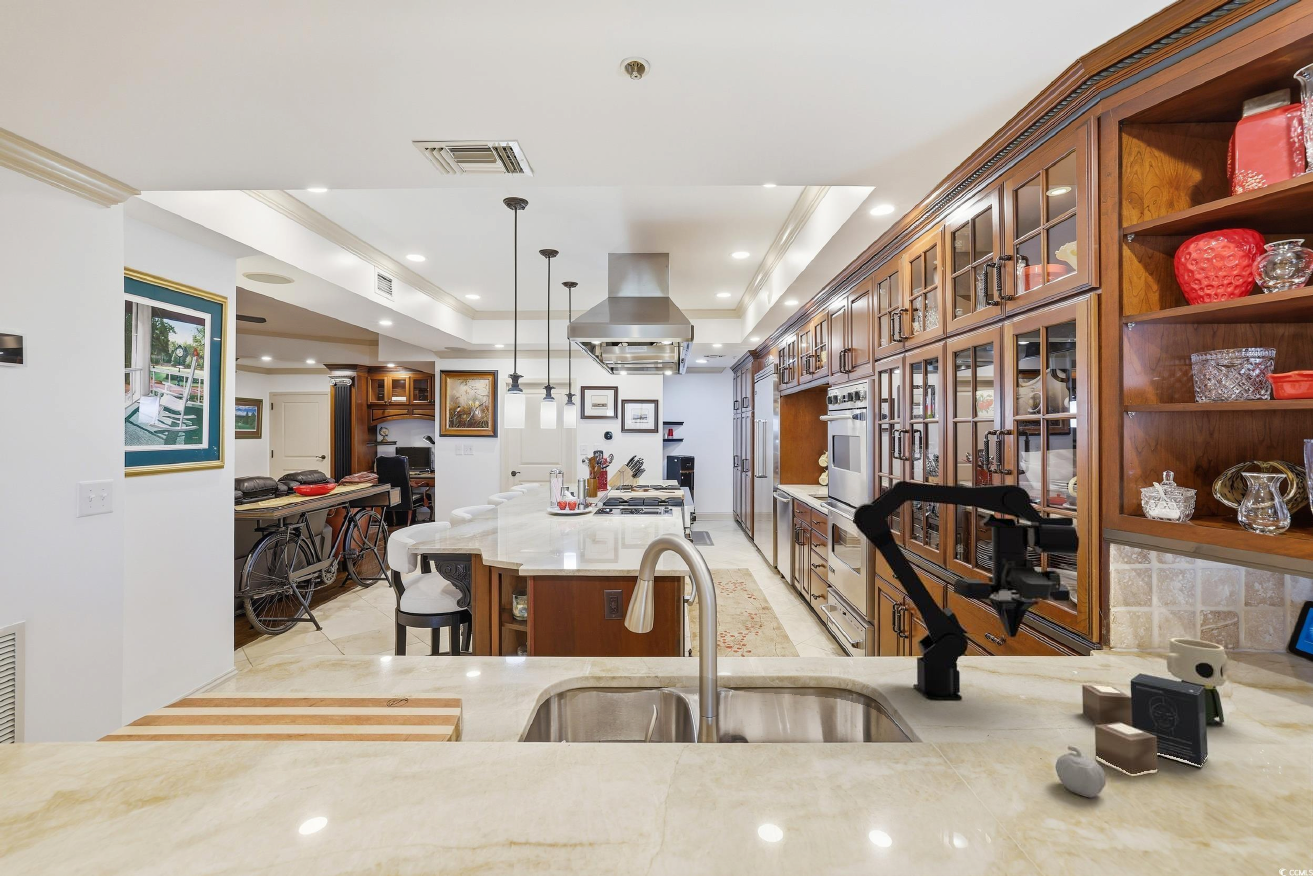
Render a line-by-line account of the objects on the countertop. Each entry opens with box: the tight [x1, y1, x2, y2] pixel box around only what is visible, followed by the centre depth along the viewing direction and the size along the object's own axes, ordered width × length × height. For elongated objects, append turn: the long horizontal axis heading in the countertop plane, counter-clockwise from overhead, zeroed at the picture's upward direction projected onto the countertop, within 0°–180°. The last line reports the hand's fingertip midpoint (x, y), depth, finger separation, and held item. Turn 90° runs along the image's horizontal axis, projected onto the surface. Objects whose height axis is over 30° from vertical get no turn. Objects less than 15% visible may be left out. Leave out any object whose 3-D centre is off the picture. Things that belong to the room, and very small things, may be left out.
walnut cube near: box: [1094, 722, 1159, 774], centre depth 84 cm, size 5×5×5 cm
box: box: [1130, 672, 1209, 766], centre depth 88 cm, size 8×6×11 cm
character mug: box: [1166, 637, 1228, 724], centre depth 101 cm, size 11×7×13 cm, turn 94°
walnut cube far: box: [1081, 684, 1132, 727], centre depth 100 cm, size 5×5×5 cm
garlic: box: [1055, 745, 1107, 798], centre depth 77 cm, size 6×5×5 cm
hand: (1011, 636), depth 107 cm, fingers closed
